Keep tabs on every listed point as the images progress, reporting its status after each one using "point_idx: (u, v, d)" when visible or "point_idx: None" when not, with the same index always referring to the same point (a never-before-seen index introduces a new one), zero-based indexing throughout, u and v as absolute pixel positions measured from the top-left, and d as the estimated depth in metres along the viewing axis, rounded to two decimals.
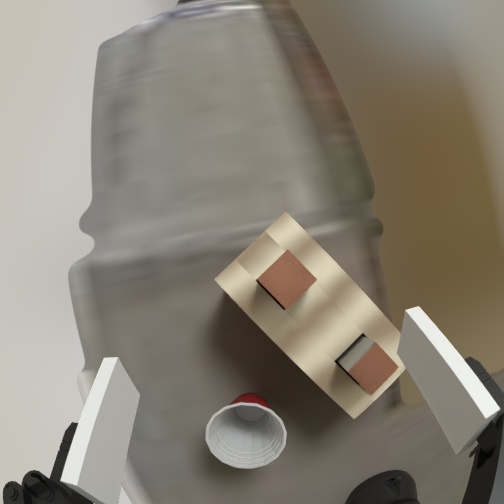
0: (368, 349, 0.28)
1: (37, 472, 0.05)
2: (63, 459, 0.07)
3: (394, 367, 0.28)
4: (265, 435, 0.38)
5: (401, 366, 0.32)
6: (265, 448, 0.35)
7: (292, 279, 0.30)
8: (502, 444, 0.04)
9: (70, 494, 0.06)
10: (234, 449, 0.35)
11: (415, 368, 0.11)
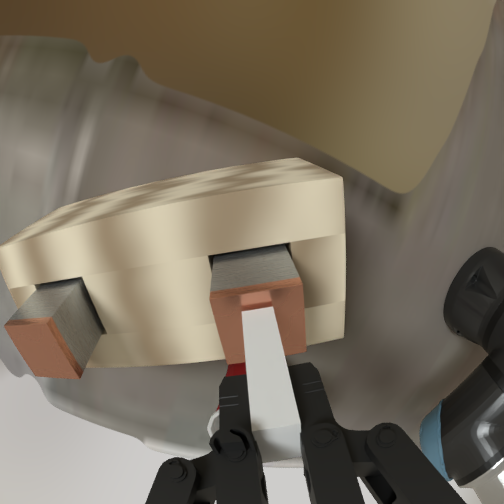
0: None
1: (240, 428, 0.07)
2: (231, 415, 0.09)
3: (294, 291, 0.14)
4: None
5: (333, 223, 0.17)
6: None
7: (40, 348, 0.14)
8: (312, 474, 0.06)
9: (257, 456, 0.07)
10: None
11: None
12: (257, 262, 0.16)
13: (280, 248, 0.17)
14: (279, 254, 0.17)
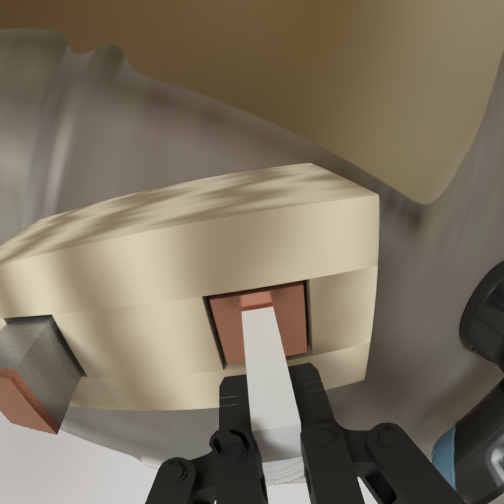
0: None
1: (240, 428, 0.07)
2: (230, 415, 0.09)
3: (295, 292, 0.14)
4: None
5: (364, 254, 0.13)
6: None
7: (10, 400, 0.09)
8: (312, 474, 0.06)
9: (257, 456, 0.07)
10: None
11: None
12: None
13: None
14: None
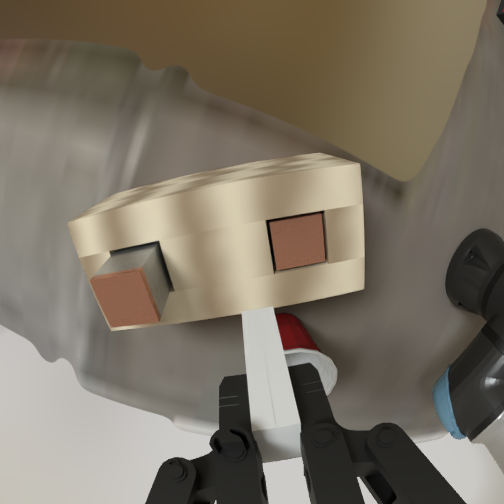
0: (271, 234, 0.24)
1: (240, 428, 0.07)
2: (231, 415, 0.09)
3: (317, 218, 0.24)
4: None
5: (354, 197, 0.23)
6: (323, 364, 0.35)
7: (126, 297, 0.20)
8: (312, 475, 0.06)
9: (257, 456, 0.07)
10: None
11: None
12: None
13: None
14: None
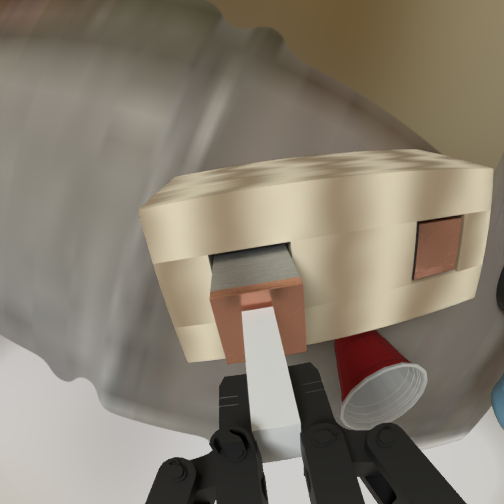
0: (416, 238, 0.18)
1: (240, 428, 0.07)
2: (231, 415, 0.09)
3: (457, 222, 0.18)
4: None
5: (486, 202, 0.17)
6: (407, 376, 0.29)
7: None
8: (312, 475, 0.06)
9: (257, 456, 0.07)
10: (383, 399, 0.30)
11: None
12: None
13: None
14: None
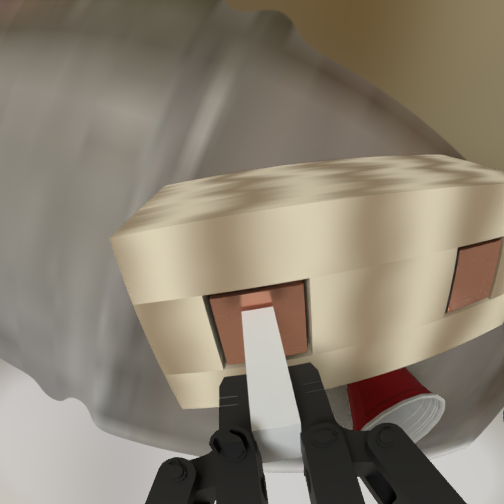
0: None
1: (240, 428, 0.07)
2: (230, 415, 0.09)
3: (496, 245, 0.14)
4: None
5: None
6: (423, 402, 0.25)
7: None
8: (312, 474, 0.06)
9: (257, 456, 0.07)
10: None
11: None
12: None
13: None
14: None
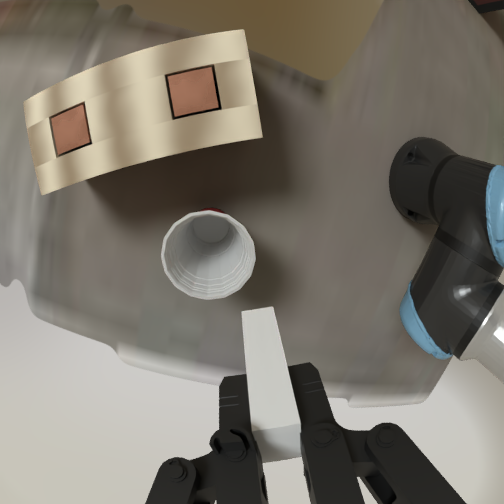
0: (170, 86, 0.25)
1: (240, 428, 0.07)
2: (231, 415, 0.09)
3: (207, 71, 0.24)
4: (237, 233, 0.38)
5: (240, 53, 0.24)
6: (243, 245, 0.35)
7: (71, 125, 0.24)
8: (312, 474, 0.06)
9: (257, 456, 0.07)
10: (226, 274, 0.37)
11: None
12: None
13: None
14: None
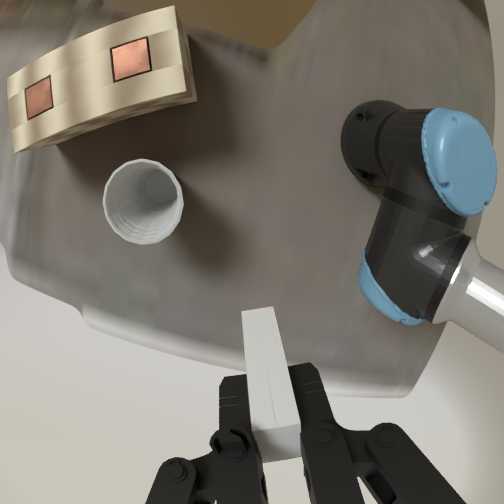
0: None
1: (241, 428, 0.07)
2: (231, 414, 0.09)
3: (143, 41, 0.25)
4: None
5: (170, 24, 0.25)
6: (177, 194, 0.36)
7: (40, 94, 0.26)
8: (312, 474, 0.06)
9: (257, 456, 0.07)
10: (164, 224, 0.38)
11: None
12: None
13: None
14: None
